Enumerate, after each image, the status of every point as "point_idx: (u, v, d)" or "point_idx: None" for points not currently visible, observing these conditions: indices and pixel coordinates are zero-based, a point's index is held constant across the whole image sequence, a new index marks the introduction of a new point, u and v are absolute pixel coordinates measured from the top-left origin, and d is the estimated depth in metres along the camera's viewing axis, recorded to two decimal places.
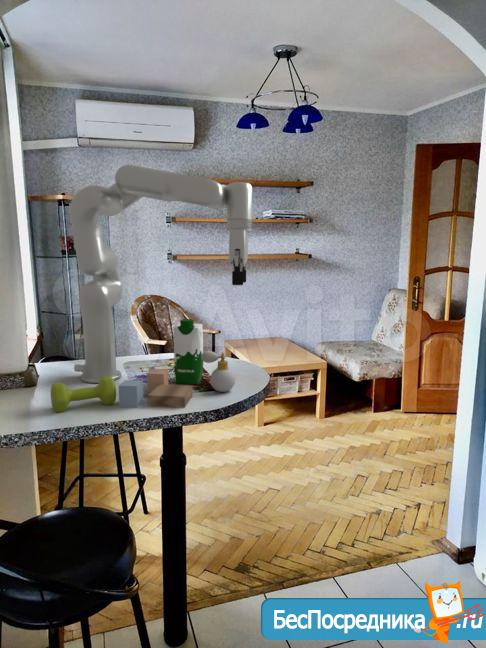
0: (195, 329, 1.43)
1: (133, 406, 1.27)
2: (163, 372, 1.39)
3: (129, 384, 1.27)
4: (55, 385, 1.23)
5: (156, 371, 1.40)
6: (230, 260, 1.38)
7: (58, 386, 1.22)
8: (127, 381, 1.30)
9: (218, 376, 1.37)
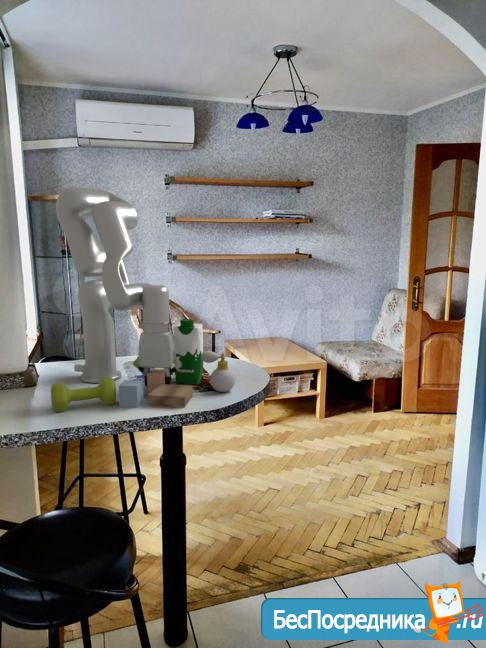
0: (195, 329, 1.43)
1: (133, 406, 1.27)
2: (163, 372, 1.39)
3: (129, 384, 1.27)
4: (55, 385, 1.23)
5: (156, 371, 1.40)
6: (172, 363, 1.37)
7: (58, 386, 1.22)
8: (127, 381, 1.30)
9: (218, 376, 1.37)
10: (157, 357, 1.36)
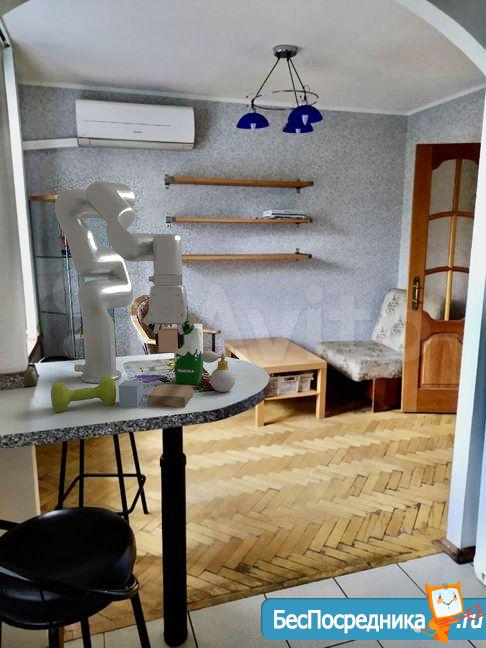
0: (195, 329, 1.43)
1: (133, 406, 1.27)
2: (176, 329, 1.28)
3: (129, 384, 1.27)
4: (55, 385, 1.23)
5: (168, 328, 1.29)
6: (185, 319, 1.26)
7: (58, 386, 1.22)
8: (127, 381, 1.30)
9: (218, 376, 1.37)
10: (169, 312, 1.25)
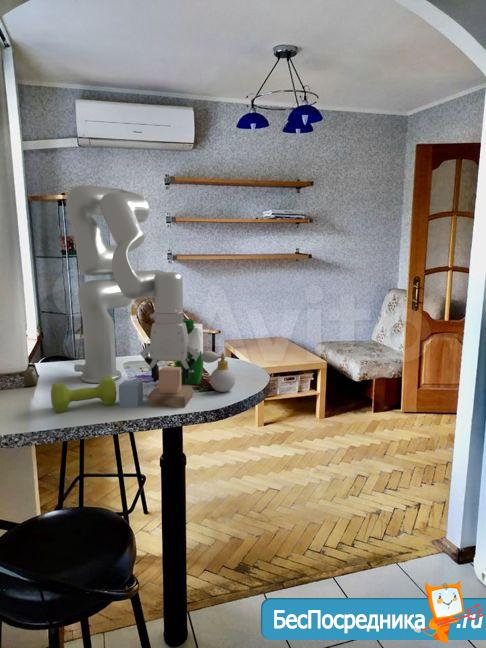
0: (195, 329, 1.43)
1: (133, 406, 1.27)
2: (176, 370, 1.30)
3: (129, 384, 1.27)
4: (55, 385, 1.22)
5: (168, 369, 1.31)
6: (186, 356, 1.27)
7: (58, 386, 1.22)
8: (127, 381, 1.30)
9: (218, 376, 1.37)
10: (170, 349, 1.27)
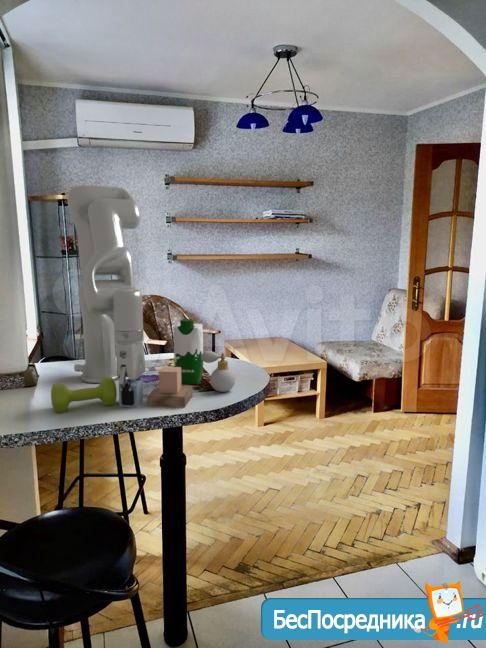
0: (195, 329, 1.43)
1: (133, 406, 1.27)
2: (176, 370, 1.30)
3: None
4: (55, 385, 1.22)
5: (168, 369, 1.31)
6: None
7: (58, 386, 1.22)
8: None
9: (218, 376, 1.37)
10: (141, 364, 1.28)
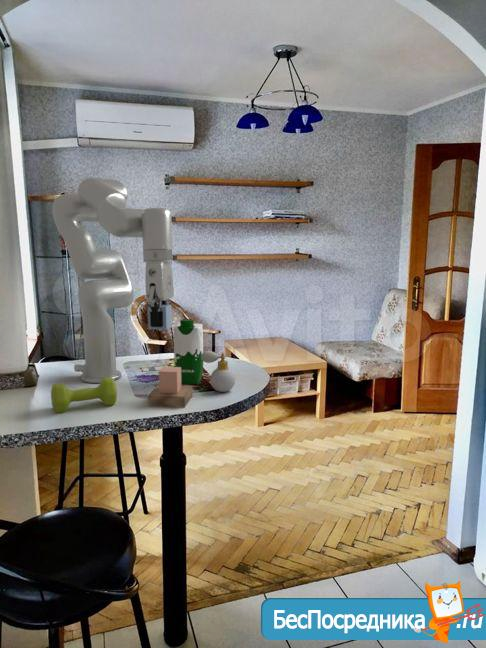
0: (195, 329, 1.43)
1: (162, 328, 1.25)
2: (176, 370, 1.30)
3: None
4: (55, 386, 1.22)
5: (168, 369, 1.31)
6: None
7: (59, 387, 1.22)
8: None
9: (218, 376, 1.37)
10: (169, 287, 1.26)
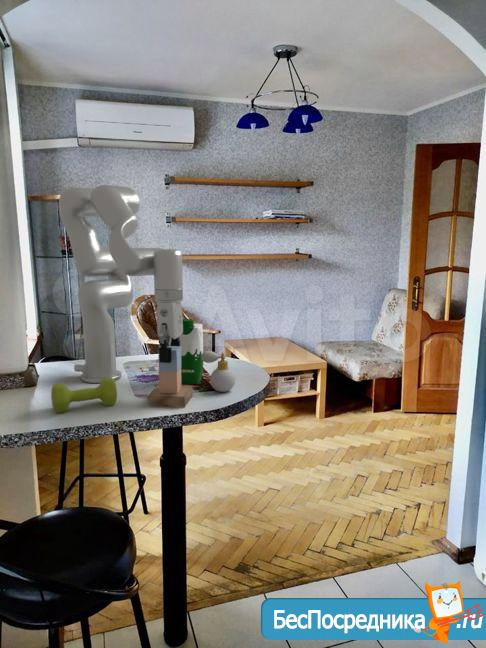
0: (195, 329, 1.43)
1: (173, 370, 1.28)
2: None
3: None
4: (56, 386, 1.22)
5: None
6: None
7: (59, 387, 1.21)
8: None
9: (218, 376, 1.37)
10: (180, 324, 1.29)
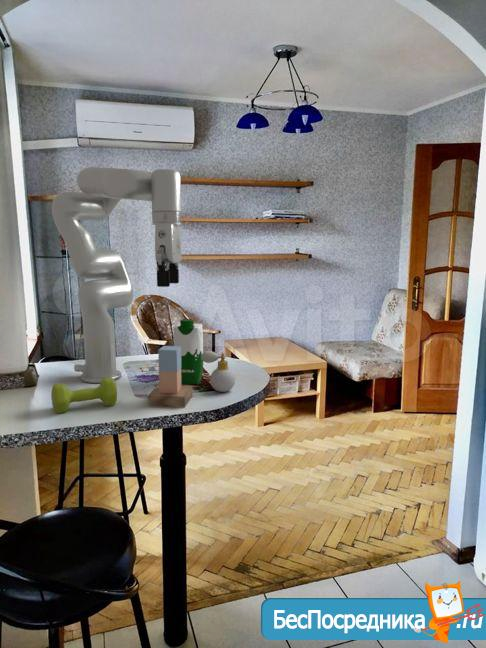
0: (195, 329, 1.43)
1: (173, 370, 1.28)
2: None
3: (169, 349, 1.28)
4: (56, 386, 1.22)
5: None
6: None
7: (59, 387, 1.21)
8: (166, 346, 1.31)
9: (218, 376, 1.37)
10: (178, 250, 1.26)
